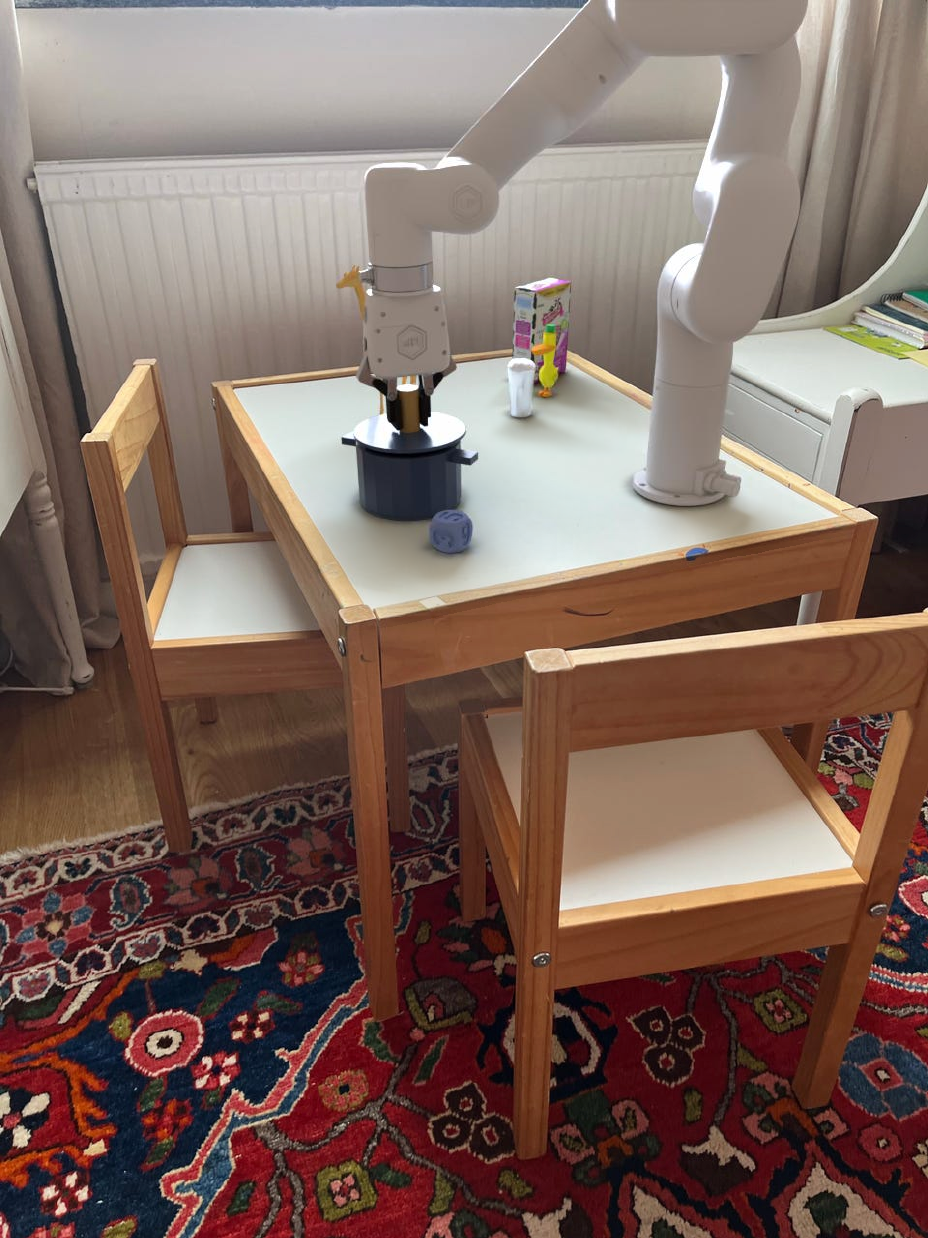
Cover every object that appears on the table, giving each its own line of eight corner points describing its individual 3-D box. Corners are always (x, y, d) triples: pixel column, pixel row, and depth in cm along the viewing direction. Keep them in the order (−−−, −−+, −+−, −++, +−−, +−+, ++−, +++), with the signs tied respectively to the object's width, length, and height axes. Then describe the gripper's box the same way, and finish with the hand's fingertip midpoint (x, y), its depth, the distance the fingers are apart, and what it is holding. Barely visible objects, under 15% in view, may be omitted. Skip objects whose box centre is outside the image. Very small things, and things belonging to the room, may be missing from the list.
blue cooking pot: (452, 531, 122) (451, 468, 117) (323, 506, 129) (318, 446, 124) (495, 492, 132) (495, 432, 128) (374, 470, 139) (370, 413, 135)
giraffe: (359, 438, 151) (347, 271, 138) (339, 432, 153) (325, 267, 140) (427, 410, 161) (423, 253, 149) (408, 405, 164) (401, 250, 151)
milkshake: (537, 419, 157) (538, 358, 152) (504, 418, 158) (505, 357, 153) (540, 410, 161) (542, 350, 156) (509, 409, 162) (509, 349, 157)
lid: (435, 464, 118) (433, 412, 114) (332, 448, 123) (327, 398, 120) (484, 426, 129) (483, 377, 126) (388, 413, 134) (385, 365, 131)
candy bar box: (533, 385, 173) (535, 290, 164) (510, 380, 175) (512, 287, 167) (568, 371, 180) (572, 279, 172) (546, 366, 183) (549, 276, 174)
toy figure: (538, 401, 165) (540, 330, 159) (523, 397, 167) (525, 326, 161) (565, 393, 169) (568, 323, 163) (550, 388, 171) (552, 319, 165)
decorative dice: (444, 536, 121) (443, 507, 119) (473, 542, 119) (472, 512, 117) (429, 549, 118) (428, 519, 116) (458, 555, 116) (458, 525, 114)
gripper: (343, 290, 110) (355, 443, 120) (476, 277, 115) (478, 425, 124) (328, 277, 116) (341, 424, 126) (455, 265, 121) (458, 408, 131)
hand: (409, 423), depth 125 cm, fingers closed on lid, 2 cm apart
